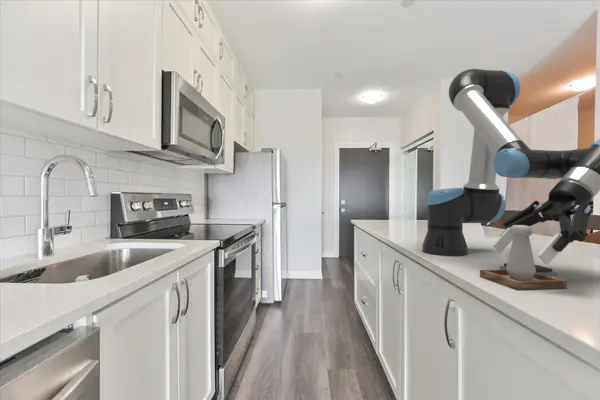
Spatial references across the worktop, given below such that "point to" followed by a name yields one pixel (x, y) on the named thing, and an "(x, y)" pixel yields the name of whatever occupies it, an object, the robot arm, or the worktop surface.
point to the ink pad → (538, 270)
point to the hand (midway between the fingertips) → (517, 254)
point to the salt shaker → (521, 254)
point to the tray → (536, 283)
